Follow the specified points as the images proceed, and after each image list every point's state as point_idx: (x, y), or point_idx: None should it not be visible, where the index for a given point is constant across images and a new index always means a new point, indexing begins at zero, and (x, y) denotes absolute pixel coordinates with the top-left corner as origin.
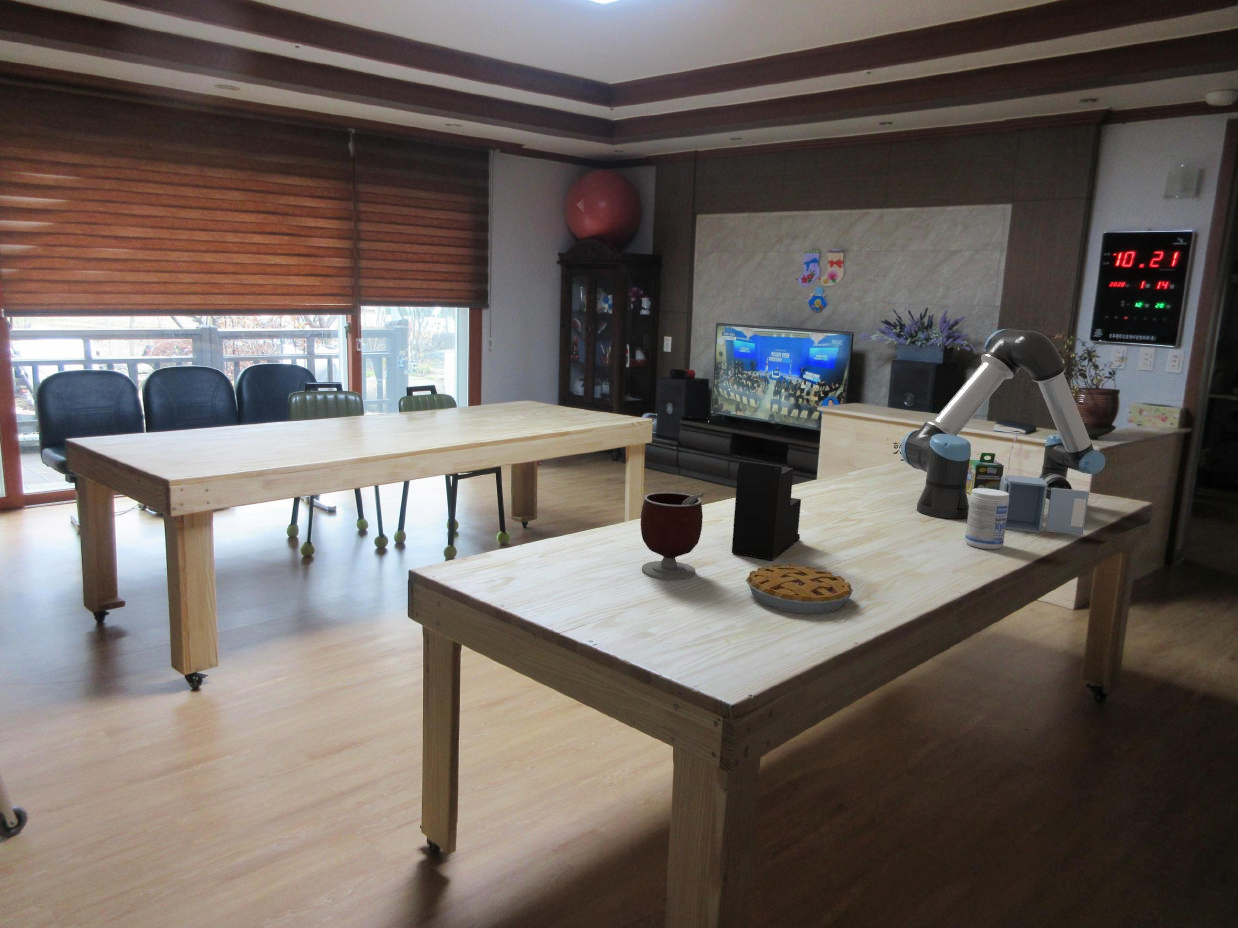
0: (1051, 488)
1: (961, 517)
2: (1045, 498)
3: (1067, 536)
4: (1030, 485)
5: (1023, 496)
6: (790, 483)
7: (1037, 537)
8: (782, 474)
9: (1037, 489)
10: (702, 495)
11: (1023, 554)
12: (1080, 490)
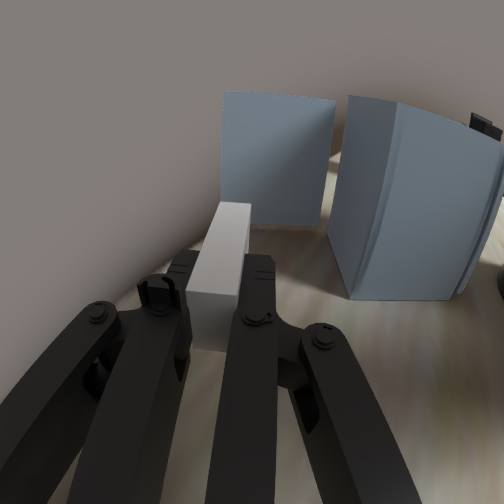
0: (335, 103)
1: (498, 274)
2: (344, 136)
3: (260, 226)
4: (427, 149)
5: (432, 202)
6: (481, 131)
7: (330, 211)
8: (473, 118)
9: (398, 157)
10: (461, 121)
11: (338, 169)
12: (248, 92)
